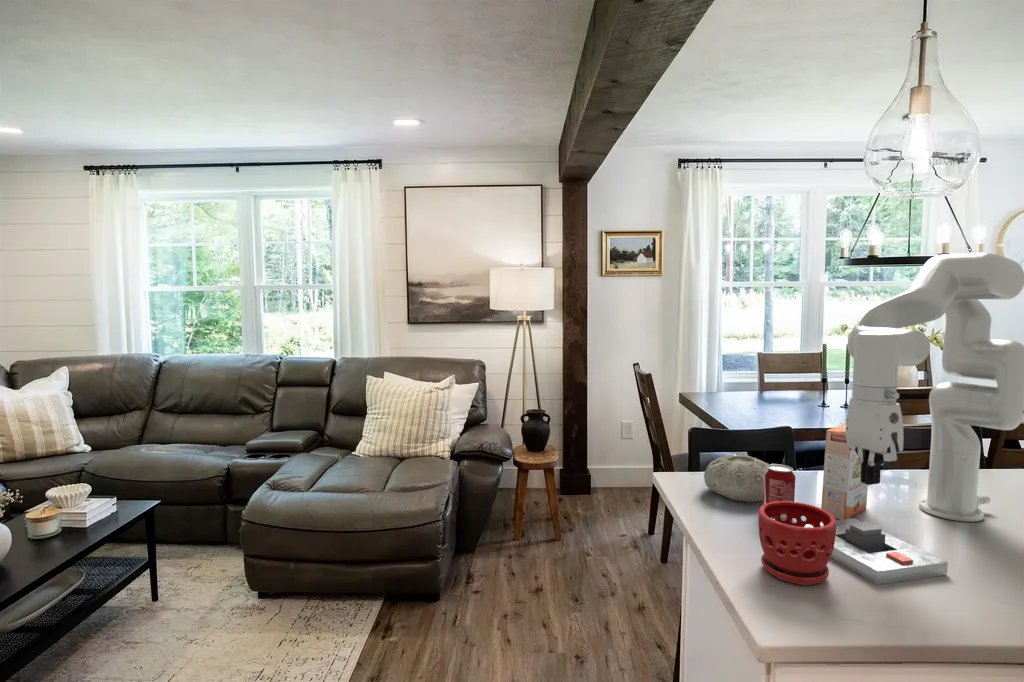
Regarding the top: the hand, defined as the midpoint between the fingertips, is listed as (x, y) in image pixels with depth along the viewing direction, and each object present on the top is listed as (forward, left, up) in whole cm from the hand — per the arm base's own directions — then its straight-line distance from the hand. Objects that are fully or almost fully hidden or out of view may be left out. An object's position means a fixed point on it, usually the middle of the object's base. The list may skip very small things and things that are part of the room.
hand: (870, 482), depth 119 cm
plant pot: (+21, +4, -15) cm, 26 cm away
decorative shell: (+5, -36, -15) cm, 39 cm away
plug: (+1, 0, -14) cm, 14 cm away
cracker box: (-13, -20, -15) cm, 28 cm away
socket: (+1, 0, -15) cm, 15 cm away
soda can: (+5, -21, -15) cm, 26 cm away
